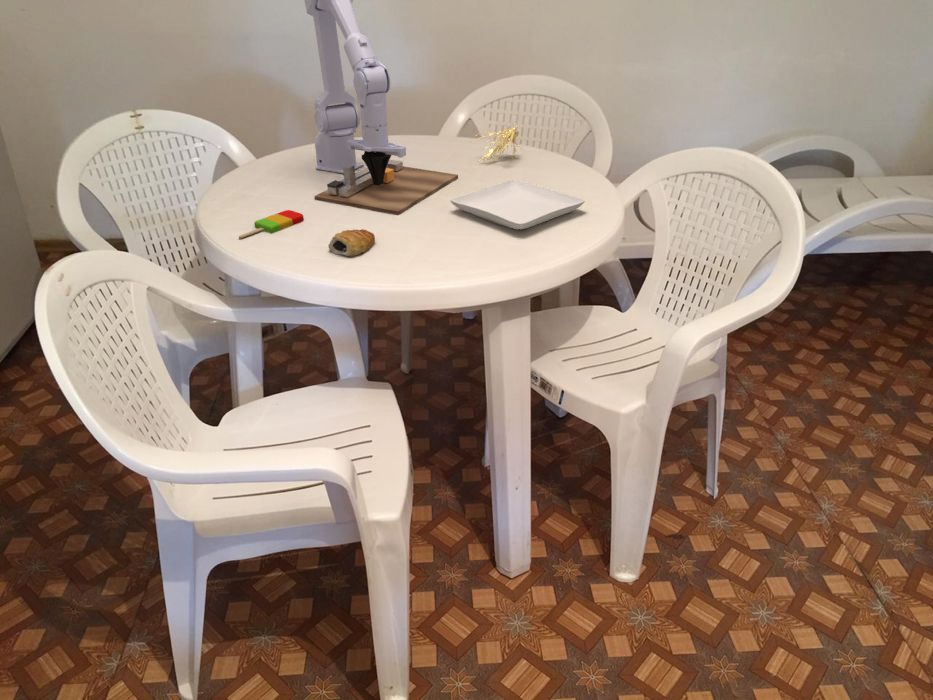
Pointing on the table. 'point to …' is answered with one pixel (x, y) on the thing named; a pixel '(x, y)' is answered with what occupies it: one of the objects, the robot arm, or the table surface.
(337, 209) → the table surface
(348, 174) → the bar
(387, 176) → the orange block
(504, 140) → the crumpled gold foil
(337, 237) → the pastry
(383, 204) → the walnut board
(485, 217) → the salad plate
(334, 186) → the tongs frame
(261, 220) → the popsicle
